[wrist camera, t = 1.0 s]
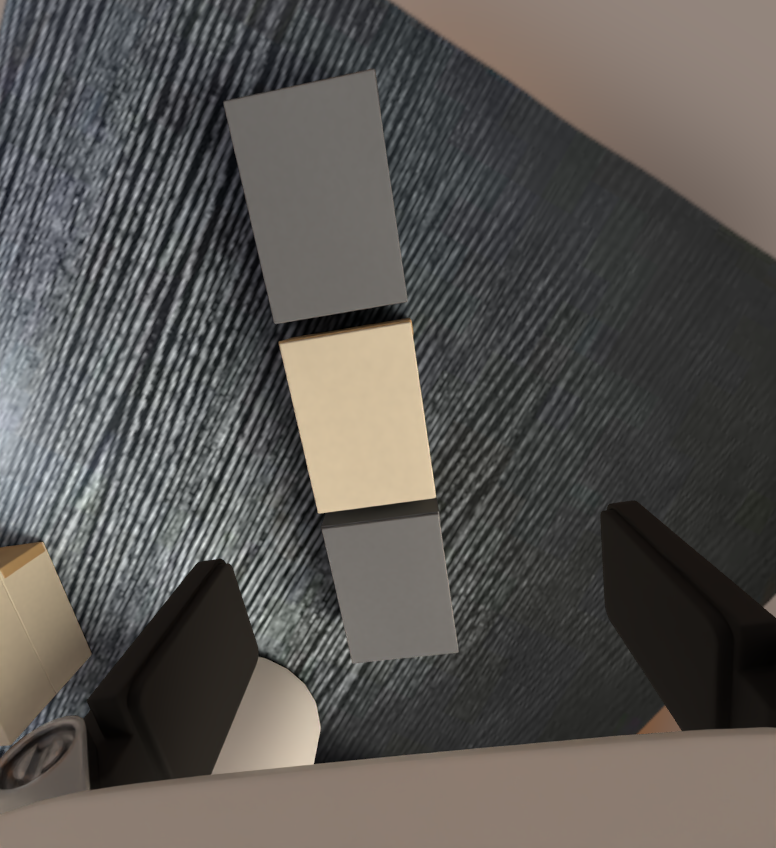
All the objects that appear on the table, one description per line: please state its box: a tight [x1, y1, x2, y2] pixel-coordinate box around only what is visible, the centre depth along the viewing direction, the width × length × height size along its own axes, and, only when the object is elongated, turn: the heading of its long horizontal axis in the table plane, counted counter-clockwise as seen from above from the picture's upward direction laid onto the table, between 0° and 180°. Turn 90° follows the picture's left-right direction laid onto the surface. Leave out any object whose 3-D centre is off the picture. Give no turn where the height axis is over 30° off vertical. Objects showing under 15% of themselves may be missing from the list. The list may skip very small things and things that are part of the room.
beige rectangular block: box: [0, 542, 92, 694], centre depth 30 cm, size 10×7×4 cm
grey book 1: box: [223, 69, 407, 324], centre depth 22 cm, size 10×7×4 cm
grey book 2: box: [321, 491, 458, 663], centre depth 28 cm, size 10×7×4 cm
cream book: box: [279, 318, 436, 513], centre depth 25 cm, size 10×7×4 cm
